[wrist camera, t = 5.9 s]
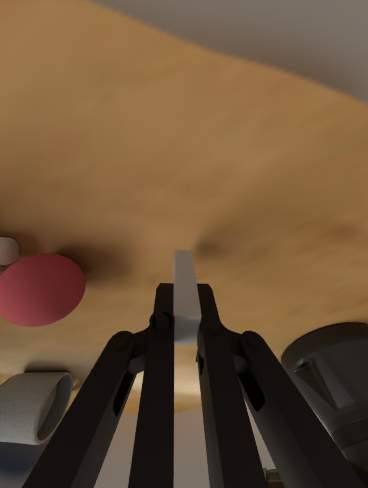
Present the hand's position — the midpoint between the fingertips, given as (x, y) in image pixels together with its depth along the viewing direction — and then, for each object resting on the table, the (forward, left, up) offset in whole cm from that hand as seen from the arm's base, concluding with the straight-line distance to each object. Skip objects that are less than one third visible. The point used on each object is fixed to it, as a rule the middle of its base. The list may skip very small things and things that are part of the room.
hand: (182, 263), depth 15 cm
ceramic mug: (-13, +31, -2) cm, 34 cm away
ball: (+4, +11, +1) cm, 12 cm away
